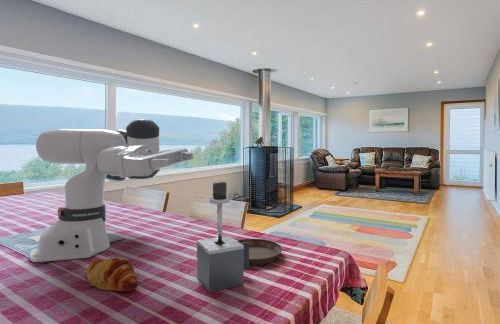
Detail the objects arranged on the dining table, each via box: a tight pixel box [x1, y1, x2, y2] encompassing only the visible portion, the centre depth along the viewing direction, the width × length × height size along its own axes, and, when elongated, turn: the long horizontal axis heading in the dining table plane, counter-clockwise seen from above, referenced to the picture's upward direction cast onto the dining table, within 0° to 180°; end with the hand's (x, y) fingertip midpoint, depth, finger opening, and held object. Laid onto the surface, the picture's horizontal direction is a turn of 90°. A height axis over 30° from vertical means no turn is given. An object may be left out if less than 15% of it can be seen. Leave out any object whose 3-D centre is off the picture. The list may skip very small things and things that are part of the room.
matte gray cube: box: [196, 235, 250, 294], centre depth 82 cm, size 12×9×10 cm
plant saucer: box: [236, 238, 283, 266], centre depth 100 cm, size 18×18×3 cm
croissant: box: [85, 256, 139, 292], centre depth 81 cm, size 21×10×8 cm, turn 54°
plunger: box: [208, 181, 231, 244], centre depth 81 cm, size 5×5×15 cm
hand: (180, 159), depth 85 cm, fingers open, 8 cm apart
